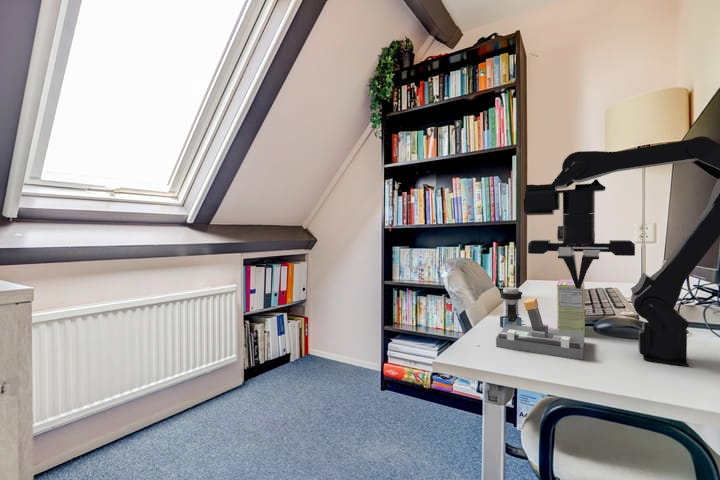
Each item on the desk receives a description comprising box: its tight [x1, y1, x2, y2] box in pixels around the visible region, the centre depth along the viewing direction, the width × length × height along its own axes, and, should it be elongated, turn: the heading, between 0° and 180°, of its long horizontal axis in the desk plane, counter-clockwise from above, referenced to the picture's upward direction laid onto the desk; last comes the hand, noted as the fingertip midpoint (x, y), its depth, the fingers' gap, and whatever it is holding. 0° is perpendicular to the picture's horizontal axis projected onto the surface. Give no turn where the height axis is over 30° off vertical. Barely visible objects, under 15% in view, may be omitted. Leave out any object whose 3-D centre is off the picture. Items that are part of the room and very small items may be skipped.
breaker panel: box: [495, 323, 585, 361], centre depth 80 cm, size 16×12×4 cm
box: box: [556, 279, 586, 337], centre depth 90 cm, size 10×6×12 cm, turn 149°
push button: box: [499, 286, 527, 329], centre depth 93 cm, size 7×5×10 cm
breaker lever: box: [523, 297, 545, 332], centre depth 79 cm, size 2×4×7 cm, turn 147°
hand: (578, 288), depth 77 cm, fingers closed
